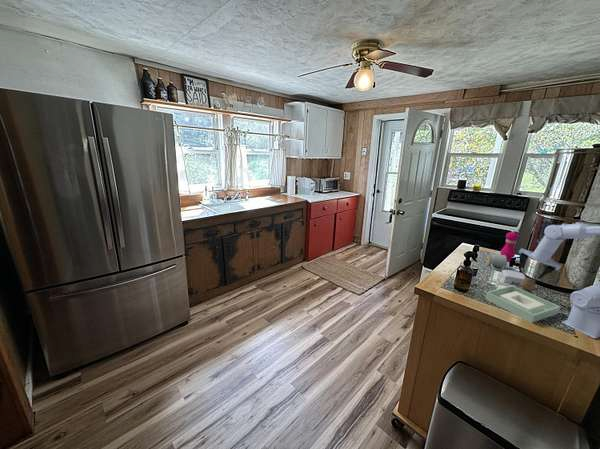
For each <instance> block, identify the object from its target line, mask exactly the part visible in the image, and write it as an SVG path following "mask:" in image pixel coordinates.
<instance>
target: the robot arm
mask: <svg viewBox="0 0 600 449" xmlns="http://www.w3.org/2000/svg"><path fill="white" fill-rule="evenodd" d="M543 233H544V236H543V237H542V238H541V240H540V242H539V244H537V247H536V248H535V250H534V251H531V250H528V249H525V248H520V249H519V250H518V254H520V255H519V256H518V257H519V265H518V270H521V269H522V268H523V266H524V264H525V262H526V261H527V260H528V258H531V259H533V260H534V261H537V262H539V263H542V264H544V265H546V267H545V269H544V270H543V271H542V272H541V274H540V275H539V276H538V279H539V280H541V279H542V278H543V277H545V276H546V275H547V274H550V273H552V272H554V271H559V270H560V269H561V268H562V265H561V264H558V263H557V262H555V261H554V260H552V259H551V258H552V256H553V255H554V254H555V252H556V251H557V250H558V248H559V247H560V245H561V244H562V243H563V242H564V240H569V239H570V240H571V239H573V240H574V239H575V240H577V239H579V240H580V239H589V238H590V237H592V236H593V235H594V236H595V235H597V236H599V235H600V225H593V226H592V225H590V224H588V223H586V222H585V223H583V221H579V222H576V221H575V223H572V224H568V223H562V224H550V225H547V226H546V227H545V229H544V232H543ZM570 301H571V303H572V306H571V309H570V312H569V315H568V317H567V319H565V320H563V321H561V323H562V324H565V325H566V326H568V327H570V328H573V329H574V330H577V331H579V332H580V333H583V334H585V335H587V336H588V337H589V338H592V339H598V338H600V280H599V281H598V282H596V283H595V284H593V285H590V286H587V287H584V288H582V289H581V290H575V291H573V292H571V294H570Z"/></svg>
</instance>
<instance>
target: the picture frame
mask: <svg viewBox="0 0 600 449" xmlns="http://www.w3.org/2000/svg"><path fill="white" fill-rule="evenodd" d="M514 291H517V292H519V293H521V294H523V295H525V296H528V297H530V298H532V299H534V300H536V301H539V302H541V303H543V304H545V306H544V309H543V311H540V312H537V313H534V314H532V313H530V312H528V311H526V310H524V309H522V308H520V307H517V306H515V305H513V304H511V303H509V302H507V301H505V300H503V299H501V298H499V297H500V295H503V294H507V293H510V292H514ZM484 299H485V300H488V301H489V302H491V303H492V304H495V305H497V306H498V307H500V308H502V309H504V310H506V311H508V312H510V313H511V314H514V315H516V316H517V317H520V318H521V319H523V320H524V321H527V322H529V323H531V324H533V323H535V322H539V321H541V320H545V319H547V318H550V317H553V316H555V315H558V314H559V312H560V309H561V307H562V306H561V305H558V304H556V303H553V302H551V301H549V300H546V299H544V298H542V297H540V296H538V295H535V294H531V293H529V292H526V291H524V290H522V289H521V288H519V287H517V286H516V285H513V284H511V285H508V286H505V287H501V288H497V289H492V290H488V291H486V293H485V296H484Z"/></svg>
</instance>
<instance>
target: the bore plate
mask: <svg viewBox="0 0 600 449" xmlns="http://www.w3.org/2000/svg"><path fill="white" fill-rule="evenodd" d="M499 298H501V299H503V300H505V301H507V302H509V303H511V304H513V305H515V306H517V307H520V308H522V309H524V310H526V311H528V312H530V313H532V314H534V313H537V312H540V311H543V309H544V306H545V304H543V303H541V302H539V301H536V300H534V299H532V298H530V297H528V296H525V295H523V294H521V293H519V292H517V291H514V292H510V293H507V294H503V295H500V297H499Z"/></svg>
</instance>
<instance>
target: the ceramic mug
mask: <svg viewBox="0 0 600 449" xmlns="http://www.w3.org/2000/svg"><path fill="white" fill-rule="evenodd" d="M486 263H487V265H488V266H489V267H491V269H493V270H494V271H498V272H502V270H505V268H506V267H507V264H508V262H507V258H506V256H505V255H501V254H494V253H492V254H491V253H490V254H488V255H487V257H486Z"/></svg>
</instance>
